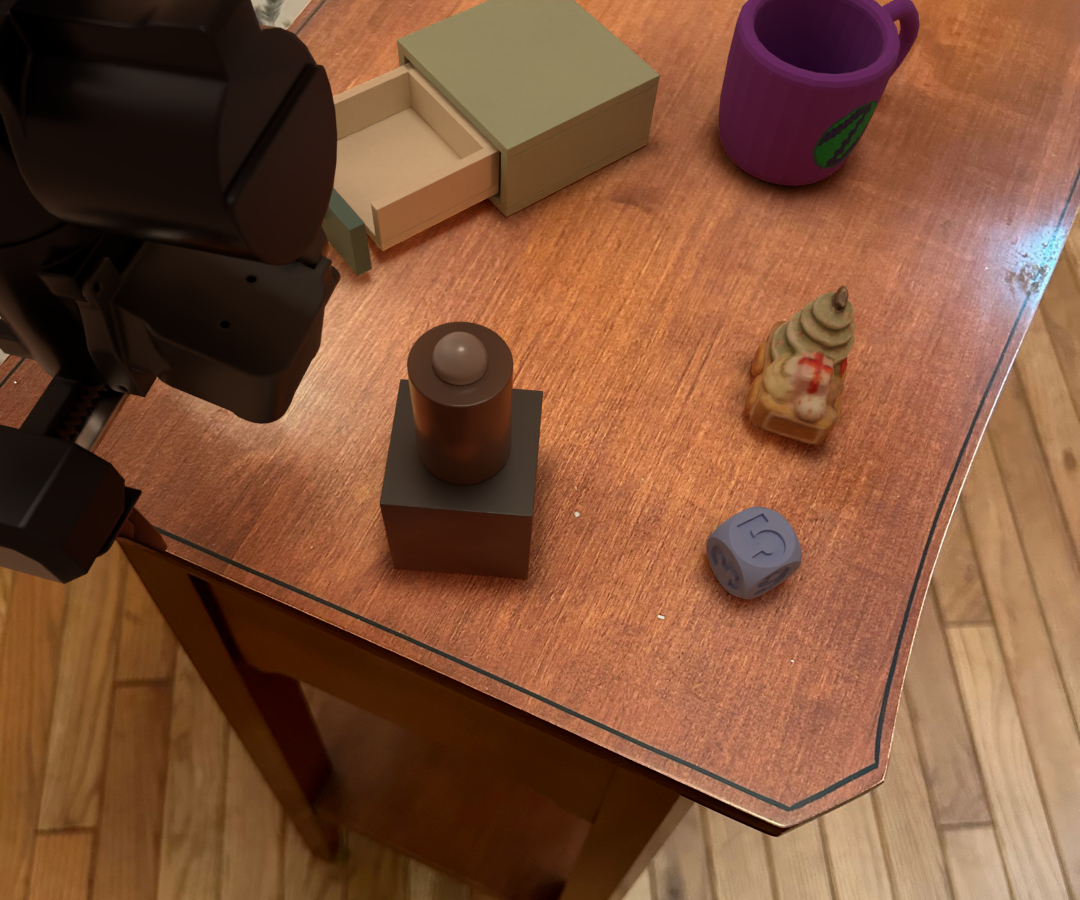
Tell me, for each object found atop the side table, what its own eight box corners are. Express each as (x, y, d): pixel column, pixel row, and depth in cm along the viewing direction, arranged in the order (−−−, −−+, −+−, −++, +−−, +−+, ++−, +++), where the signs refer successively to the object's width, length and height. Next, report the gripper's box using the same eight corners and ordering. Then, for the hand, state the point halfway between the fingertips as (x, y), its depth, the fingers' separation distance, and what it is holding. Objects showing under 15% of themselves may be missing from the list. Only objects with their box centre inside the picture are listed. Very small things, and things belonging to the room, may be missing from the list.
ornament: (833, 459, 61) (893, 363, 52) (739, 443, 61) (782, 345, 52) (837, 361, 64) (893, 256, 56) (748, 346, 65) (789, 240, 56)
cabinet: (506, 217, 69) (507, 149, 64) (403, 111, 74) (396, 39, 68) (647, 144, 73) (660, 74, 68) (542, 47, 78) (546, -25, 72)
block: (393, 568, 56) (379, 504, 49) (411, 454, 60) (400, 378, 52) (527, 580, 56) (533, 516, 49) (537, 465, 60) (543, 390, 52)
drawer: (308, 302, 63) (296, 256, 60) (218, 191, 68) (202, 142, 64) (504, 201, 68) (505, 153, 65) (410, 104, 73) (405, 53, 69)
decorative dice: (753, 527, 58) (770, 496, 55) (790, 580, 57) (811, 551, 53) (699, 554, 57) (713, 523, 54) (736, 608, 56) (752, 580, 52)
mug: (773, 220, 70) (814, 104, 61) (679, 128, 74) (704, 7, 65) (937, 135, 75) (997, 16, 66) (840, 54, 79) (885, -69, 70)
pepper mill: (402, 468, 50) (386, 368, 42) (438, 395, 52) (428, 287, 44) (491, 497, 49) (491, 401, 42) (523, 422, 51) (529, 317, 44)
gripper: (89, 491, 23) (280, 699, 37) (370, 29, 31) (441, 339, 45) (-270, 400, 25) (37, 629, 39) (81, -11, 33) (233, 297, 47)
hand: (204, 461), depth 42 cm, fingers open, 9 cm apart
